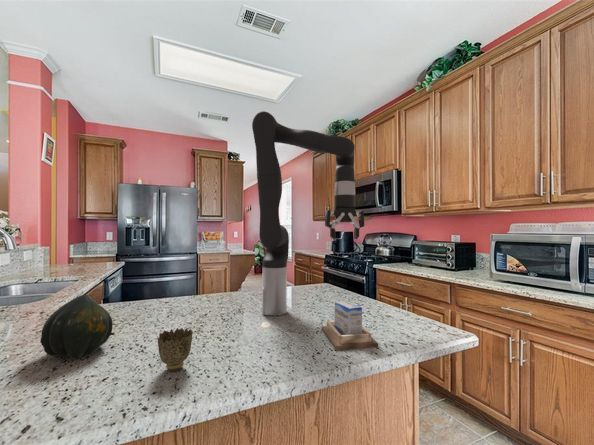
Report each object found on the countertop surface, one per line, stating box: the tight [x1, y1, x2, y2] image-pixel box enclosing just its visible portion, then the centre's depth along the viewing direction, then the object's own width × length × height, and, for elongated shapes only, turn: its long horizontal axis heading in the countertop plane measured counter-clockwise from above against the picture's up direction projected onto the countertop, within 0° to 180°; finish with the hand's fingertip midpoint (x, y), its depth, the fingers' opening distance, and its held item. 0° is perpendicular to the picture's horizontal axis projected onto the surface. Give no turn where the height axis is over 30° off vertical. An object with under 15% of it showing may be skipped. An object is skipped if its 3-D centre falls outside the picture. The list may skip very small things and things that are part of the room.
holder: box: [320, 320, 379, 351], centre depth 83 cm, size 12×15×3 cm
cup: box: [156, 327, 194, 372], centre depth 65 cm, size 8×7×8 cm
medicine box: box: [334, 300, 363, 335], centre depth 83 cm, size 8×4×9 cm, turn 25°
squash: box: [40, 294, 114, 360], centre depth 73 cm, size 14×15×15 cm
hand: (344, 238), depth 104 cm, fingers open, 8 cm apart
